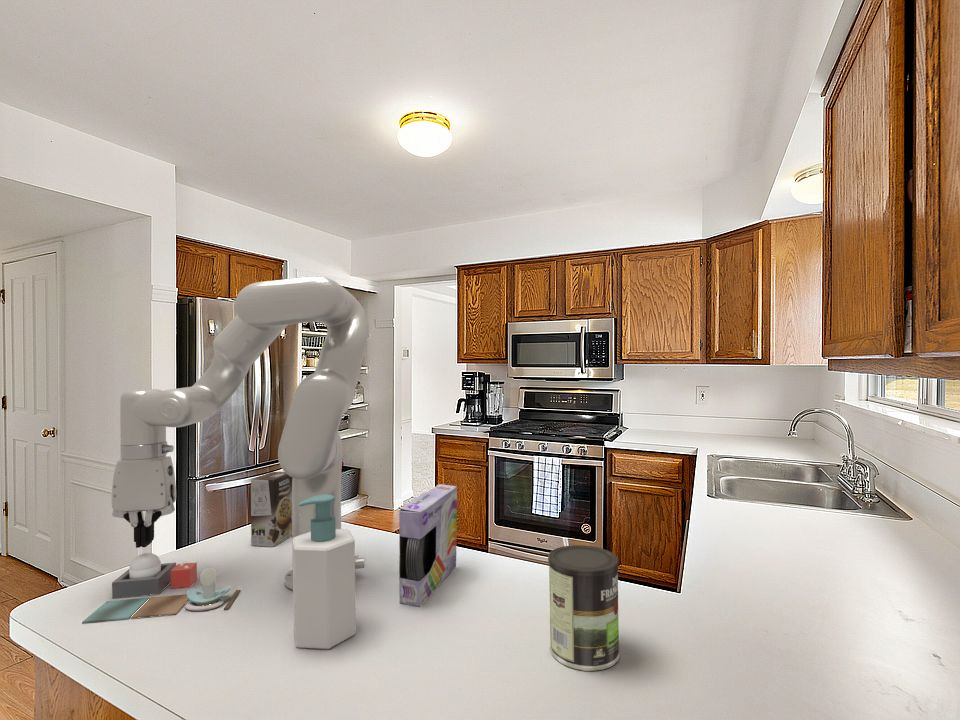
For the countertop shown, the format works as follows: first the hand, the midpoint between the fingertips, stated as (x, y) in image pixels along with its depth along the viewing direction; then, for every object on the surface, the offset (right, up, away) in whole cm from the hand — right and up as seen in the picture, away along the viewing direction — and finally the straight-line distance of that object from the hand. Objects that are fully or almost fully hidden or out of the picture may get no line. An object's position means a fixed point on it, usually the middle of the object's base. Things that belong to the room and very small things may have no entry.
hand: (144, 544), depth 100 cm
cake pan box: (+56, -8, -1) cm, 57 cm away
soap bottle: (+41, -8, -18) cm, 46 cm away
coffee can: (+82, -7, -24) cm, 86 cm away
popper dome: (0, -7, 0) cm, 7 cm away
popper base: (+3, -8, 0) cm, 9 cm away
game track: (+9, -8, -8) cm, 15 cm away
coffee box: (+15, -9, +26) cm, 31 cm away
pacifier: (+16, -8, -7) cm, 20 cm away
